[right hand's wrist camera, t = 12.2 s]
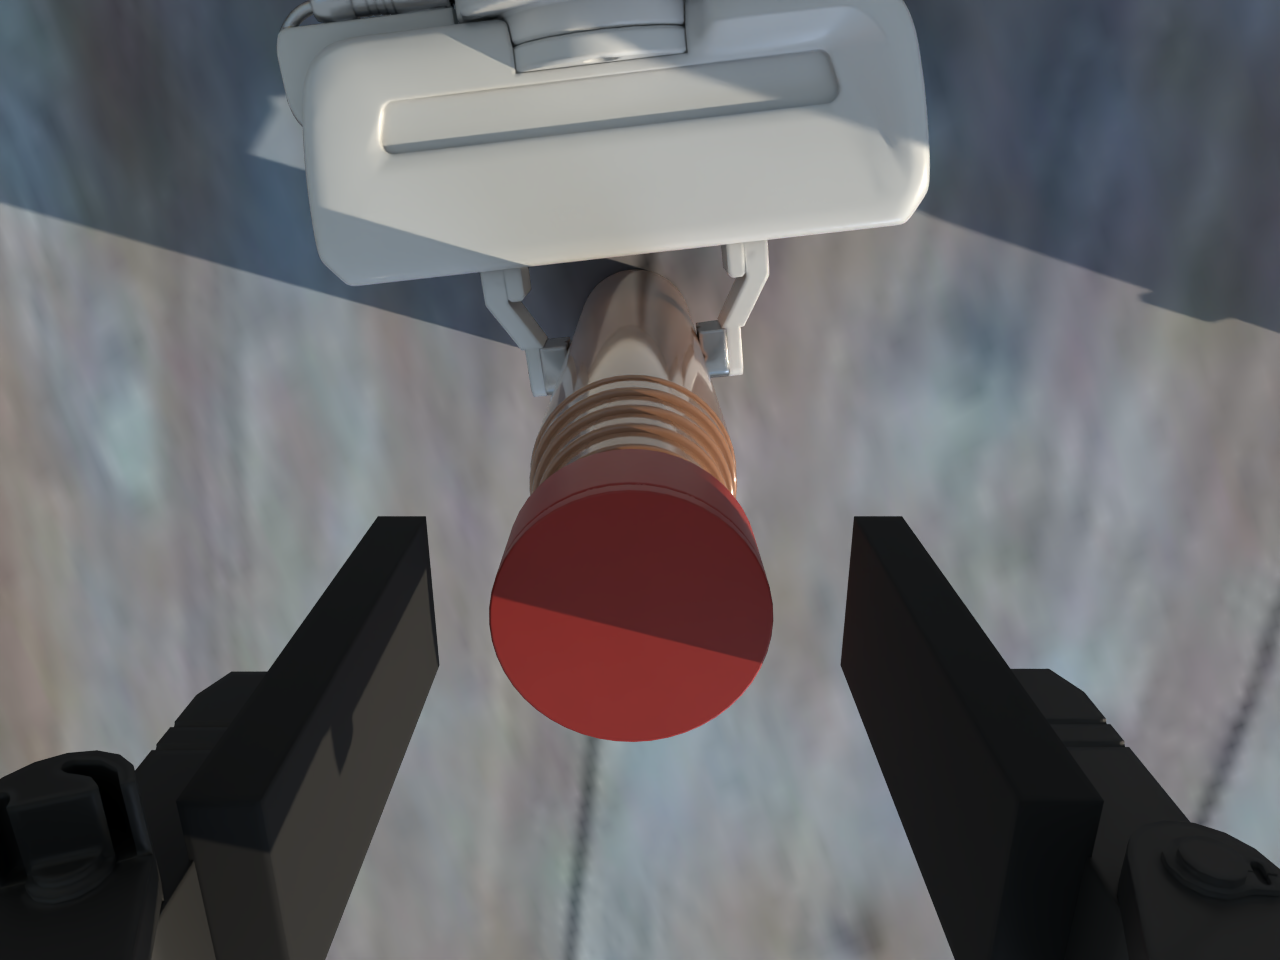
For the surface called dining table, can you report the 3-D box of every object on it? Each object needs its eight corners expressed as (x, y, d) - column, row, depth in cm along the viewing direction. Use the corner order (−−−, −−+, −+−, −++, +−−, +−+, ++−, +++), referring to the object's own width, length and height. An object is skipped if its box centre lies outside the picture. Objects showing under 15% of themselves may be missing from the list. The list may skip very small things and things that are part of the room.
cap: (718, 695, 17) (728, 766, 15) (486, 645, 16) (465, 710, 15) (788, 480, 15) (810, 528, 13) (535, 420, 15) (519, 460, 13)
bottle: (674, 389, 39) (731, 758, 15) (570, 364, 39) (461, 702, 15) (703, 284, 38) (815, 512, 14) (594, 256, 37) (516, 442, 13)
